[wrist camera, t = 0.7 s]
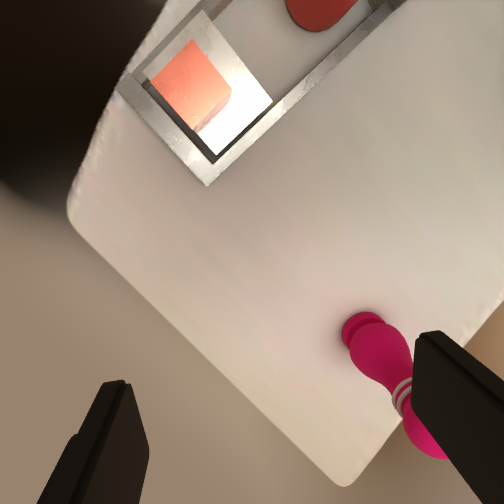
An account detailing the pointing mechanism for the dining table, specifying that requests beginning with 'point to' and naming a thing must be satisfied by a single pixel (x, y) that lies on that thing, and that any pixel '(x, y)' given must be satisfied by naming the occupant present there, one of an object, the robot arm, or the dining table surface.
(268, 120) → the press frame
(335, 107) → the dining table surface
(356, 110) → the dining table surface
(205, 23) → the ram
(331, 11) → the beer can
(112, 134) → the dining table surface
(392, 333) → the pepper mill
